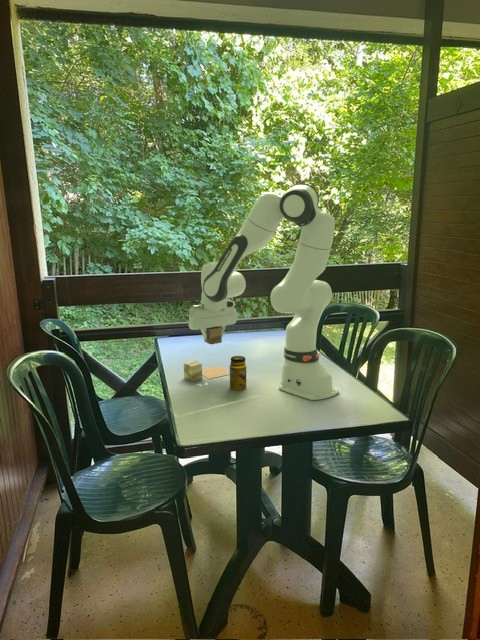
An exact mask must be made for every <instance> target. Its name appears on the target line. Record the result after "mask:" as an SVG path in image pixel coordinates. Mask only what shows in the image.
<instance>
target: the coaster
mask: <svg viewBox="0 0 480 640" xmlns="http://www.w3.org/2000/svg"><path fill="white" fill-rule="evenodd" d="M225 376H230V370H227V369H225V368H223V367H221V366H219V365H218V366H215V367H209V368H205V369H204V368H202V377H204V378H206V379H208V380H212V379H217V378H221V377H225Z"/></svg>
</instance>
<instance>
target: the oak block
mask: <svg viewBox="0 0 480 640" xmlns="http://www.w3.org/2000/svg"><path fill="white" fill-rule="evenodd" d="M202 370H203V364H202V362H199V361H196V360H190V361H188V362H183V378H184V379H185V380H188V381H190V382H194V381H197V380H200V379H203V376H202Z"/></svg>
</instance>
